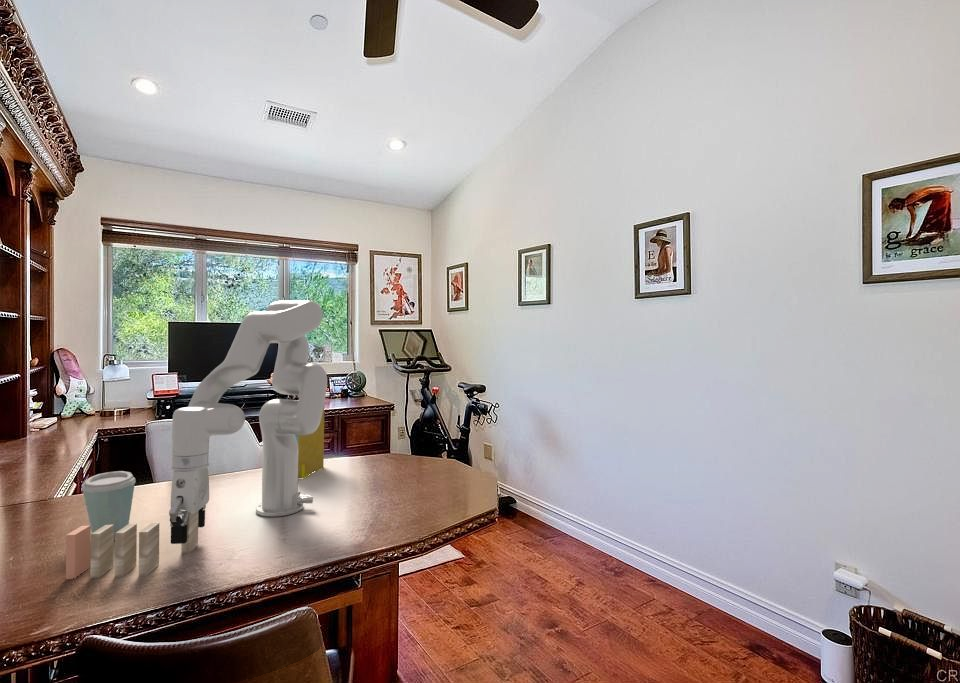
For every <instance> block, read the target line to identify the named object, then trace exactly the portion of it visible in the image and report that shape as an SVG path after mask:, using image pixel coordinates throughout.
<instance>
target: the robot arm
mask: <svg viewBox="0 0 960 683" xmlns="http://www.w3.org/2000/svg"><path fill="white" fill-rule="evenodd" d="M265 309H266V310H265V311H263V310H262V311H253V312H250V313H248V314H246V315H245V316H244V318H243V319H242V321H241V322H240V325H239V327H238V330H237V332H236V334H235V337H234V339H233V341H232V343H231V346H230V348H229V350H228V351H227V354H226V356H225V359H224V360H223V361H222V362H221V363H220V364H219V365H218V366H216V367H215V368H214V369H213V370H211V371H210V373H209V374H208V375H207V376H206V377H205V378H203V380H202V381H200V383H199V384H198V386H197V387H196V388H195V390H194V393H193V395H192V397H191V399H190V401H189V403H188V406H186V407H180V408H177V409H175V410H174V411H173V414H172V426H171V428H172V429H171V430H172V432H171V434H172V435H171V436H172V437H171V460H170V462H171V463H170V464H171V465H170V469H171V470H172V471H173V474H172V479H171V480H172V482H171V492H170V509H169V510H168V515H169V522H170V544H171V545H179V544H180V545H181V544H184V543H186V542H187V529H188V525H186V521H187V518H188V515H189V513H190V514H195V513H196V512H197V511H198V528H204V527H205V526H206V524H205V523H206V510H205V509H206V508H207V507H206V506H207V505H208V503H209V500H210V478H209V477H210V475H209V464H210V463H209V462H210V438H211V436H230V435H233V434H235V433H237V432H239V431H240V430H241V429H242V428H243V426H244V424H245V422H246V415H245V413H244V411H243V409H241V407H239V406H237V405H235V404H230V403H222V402H219V401H220V399H221V398H222V397H223V395H224V394H225V392H226V391H228V389H231V388H232V387H233V386H235V385H236V384H238V383H240V382H243V381H245V380H247V379H249V378H251V377H254V376H255V375H257V373H258V372H259V371H260V369H261V366H262V364H263V362H264V358H265V356H266V354H267V351H268V349H269V347H270V344H278V346H277V355H276V358H275V359H276V360H275V364H274V370H273V372H272V373H273V374H272V381H271V384H272V385H271V386H272V388H273V390H274V391H275V392H276V393H277V394H278V393H279V394H281V395H287V396H288V395H289V396H298V399H297V400H296V399H288V398H274V399H271V400H268V401H266V402H265V403H264V404H263V405H262V406H261V408H260V410H259V414H258V420H259V422H258V423H259V427H260V433H261V438H262V440H261V442H262V463H261V464H262V466H261V467H262V471H261V472H262V475H261V476H262V477H261V482H262V483H261V503H260V504H258V505H256V507H255V513H256V514H257V515H259V516H262V517H268V518H271V517H272V518H273V517H274V518H275V517H283V516H289V515H293V514H296V513H298V512H300V511H301V510H302V509H303V508H304V504H313V503H314V496H312V495H311V494H305V495H304V494H301V490H300V489H299V479H298V443H297V440H296V437H295V435H294V434H296V435H310V434H312V433H314V432H315V431H316V430H317V428H318V427H319V424H320V421H321V417H322V412H323V407H324V408H325V401H326V395H327V388H328V376H327V373H326V369H324V368H323V366H321V365H320V364H317V363H314V362H308V358H309V352H310V346H309V341H308V339H307V337H306V335H307V334H309V333H311V332H314V330H317V328H319V326H320V325H321V324H322V321H323V314H324V313H323V310H322V307H321V306H320V304H318V303H317V302H315V301H314V300H306V299H305V300H278V301H273V302H271V303H270V304H268V306H267V308H265ZM182 515H184V516H183V519H182Z"/></svg>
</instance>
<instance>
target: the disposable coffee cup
mask: <svg viewBox="0 0 960 683" xmlns="http://www.w3.org/2000/svg"><path fill="white" fill-rule="evenodd" d="M135 483H137V480H136V478H135V477H134V475H133V474H132V472H130V471H124V470H118V471H117V470H116V471H109V472H108V471H107V472H103V473H98V474H95V475H93V476H90V477H88V478H87V479H86V480H85V481H84V483H83V484H82V485H81V491H82V492H83V498H84V501H85V506H86V507H85V508H86V511H87V515H88V521H89V524H90V525H91V531H90V532H91V534H92V533H93V532H95V531H97V530H98V529H100V528H101V527H103V526H104V525H114V541H115V533H116V532H118V531H119V530H121V529H122V528H124V527H125V526H126V525H128V524H130V519H131V518H130V517H131V511H132V503H133V499H134V491H135Z"/></svg>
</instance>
